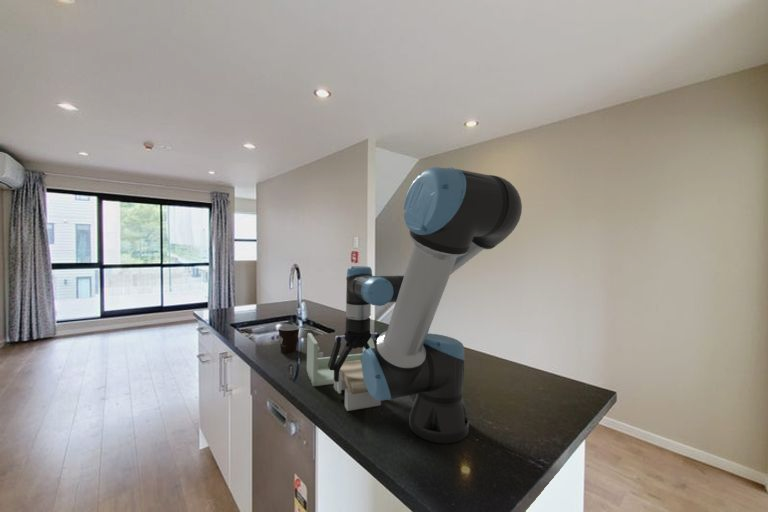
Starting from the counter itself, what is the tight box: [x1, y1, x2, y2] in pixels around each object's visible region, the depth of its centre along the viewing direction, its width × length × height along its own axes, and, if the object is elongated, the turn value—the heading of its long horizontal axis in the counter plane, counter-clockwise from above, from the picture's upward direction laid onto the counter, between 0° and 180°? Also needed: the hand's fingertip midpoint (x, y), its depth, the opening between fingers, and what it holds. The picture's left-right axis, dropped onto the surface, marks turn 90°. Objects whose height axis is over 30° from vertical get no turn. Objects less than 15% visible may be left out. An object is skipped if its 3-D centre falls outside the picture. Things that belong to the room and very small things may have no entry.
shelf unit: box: [306, 331, 375, 387], centre depth 114 cm, size 13×22×14 cm, turn 113°
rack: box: [333, 379, 382, 412], centre depth 98 cm, size 16×10×5 cm, turn 23°
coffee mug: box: [278, 324, 300, 354], centre depth 136 cm, size 12×9×10 cm
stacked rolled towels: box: [340, 360, 368, 394], centre depth 98 cm, size 18×8×2 cm, turn 23°
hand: (356, 389), depth 98 cm, fingers open, 10 cm apart
